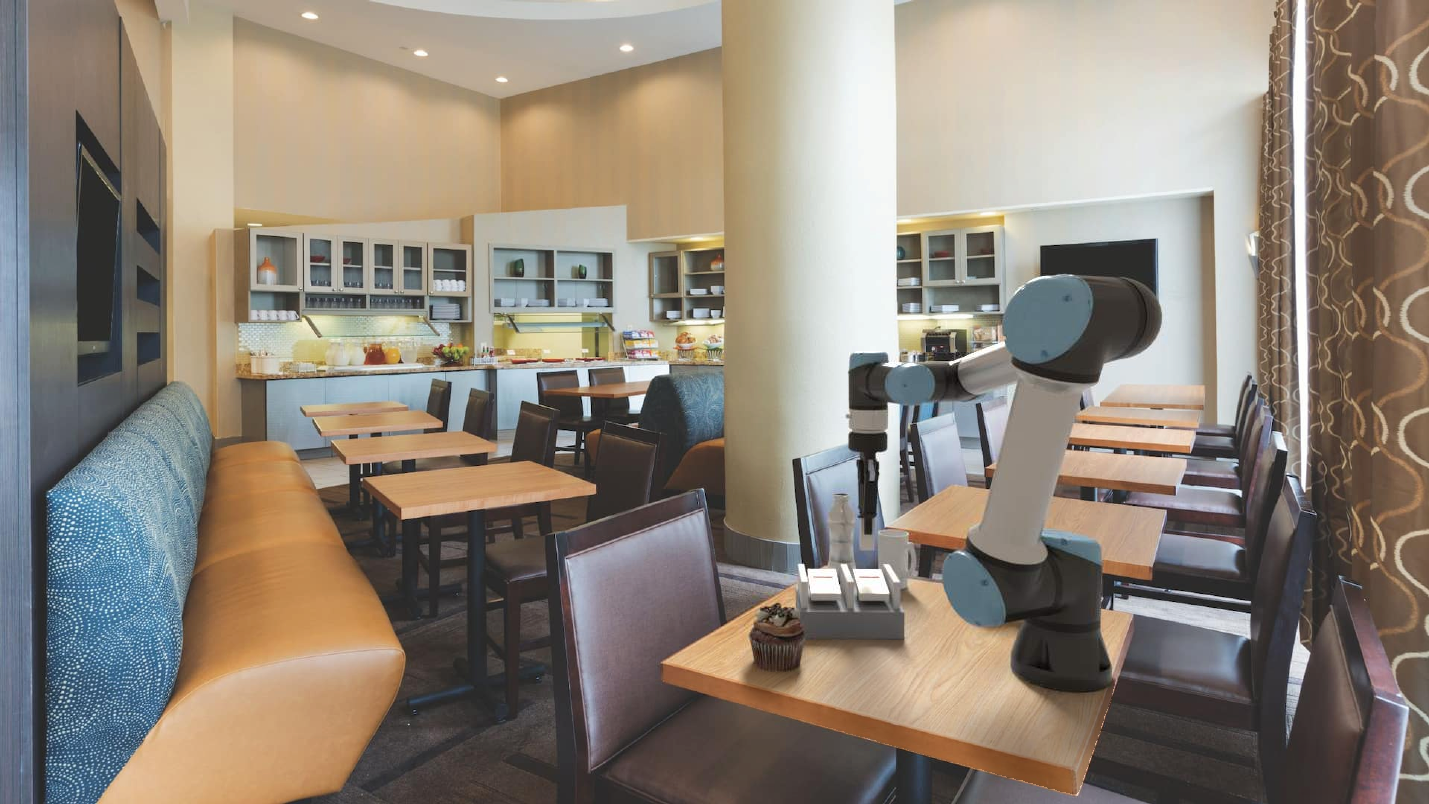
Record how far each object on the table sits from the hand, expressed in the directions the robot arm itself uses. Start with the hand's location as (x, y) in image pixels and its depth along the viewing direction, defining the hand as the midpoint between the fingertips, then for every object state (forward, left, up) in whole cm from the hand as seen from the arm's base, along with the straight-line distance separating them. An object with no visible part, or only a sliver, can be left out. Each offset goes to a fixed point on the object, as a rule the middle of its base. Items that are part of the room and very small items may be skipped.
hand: (866, 549), depth 153 cm
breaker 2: (-4, 0, -7) cm, 8 cm away
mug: (+19, -10, -14) cm, 26 cm away
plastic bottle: (+24, +2, -14) cm, 28 cm away
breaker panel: (-4, +4, -14) cm, 15 cm away
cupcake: (-23, +18, -14) cm, 32 cm away
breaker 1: (-4, +9, -7) cm, 12 cm away
